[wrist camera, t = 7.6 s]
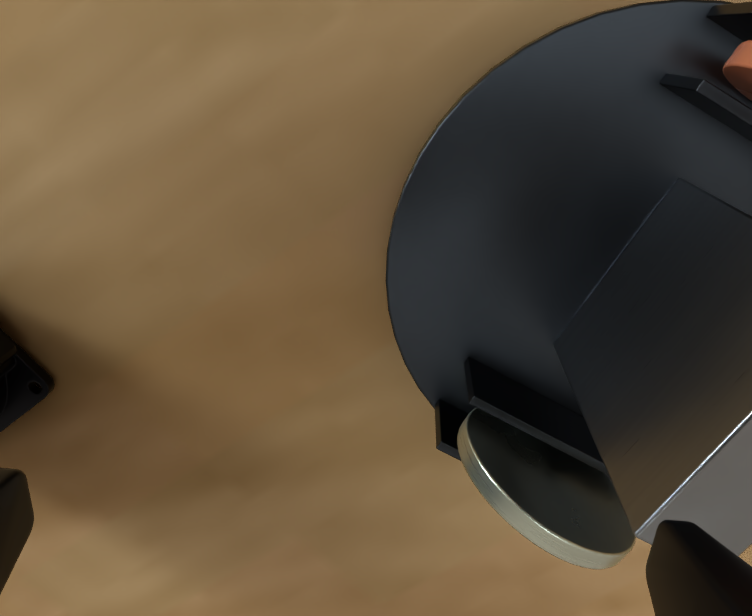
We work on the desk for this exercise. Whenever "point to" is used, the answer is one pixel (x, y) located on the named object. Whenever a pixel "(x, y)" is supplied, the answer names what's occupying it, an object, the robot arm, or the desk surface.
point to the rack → (592, 279)
